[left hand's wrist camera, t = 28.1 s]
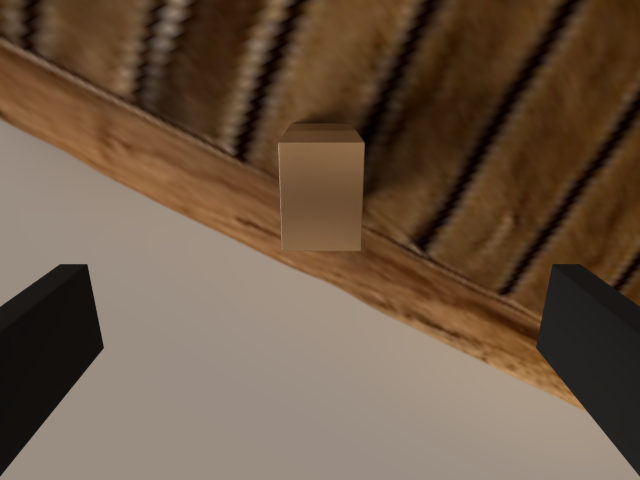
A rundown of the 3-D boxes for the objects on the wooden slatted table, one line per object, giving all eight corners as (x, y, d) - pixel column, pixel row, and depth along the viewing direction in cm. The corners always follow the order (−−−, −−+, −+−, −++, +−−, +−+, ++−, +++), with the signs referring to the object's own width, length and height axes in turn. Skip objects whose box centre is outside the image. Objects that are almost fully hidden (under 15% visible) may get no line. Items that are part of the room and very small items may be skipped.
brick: (290, 123, 34) (278, 142, 23) (351, 123, 34) (365, 142, 23) (292, 201, 36) (281, 251, 25) (349, 201, 36) (361, 251, 25)
